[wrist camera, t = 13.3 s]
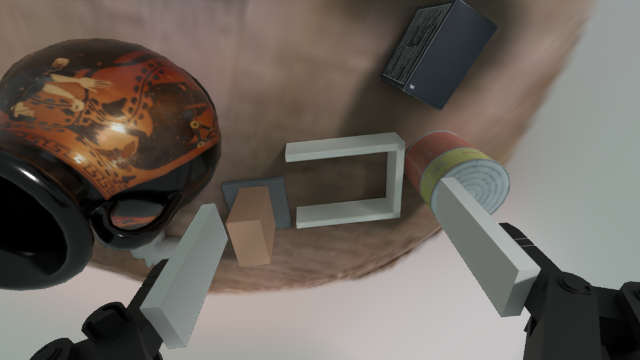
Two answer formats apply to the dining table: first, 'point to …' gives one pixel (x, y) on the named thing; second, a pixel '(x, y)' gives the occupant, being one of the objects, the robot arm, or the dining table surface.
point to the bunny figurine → (157, 249)
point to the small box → (438, 51)
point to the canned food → (455, 170)
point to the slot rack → (360, 208)
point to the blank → (252, 226)
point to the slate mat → (275, 192)
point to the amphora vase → (95, 155)
